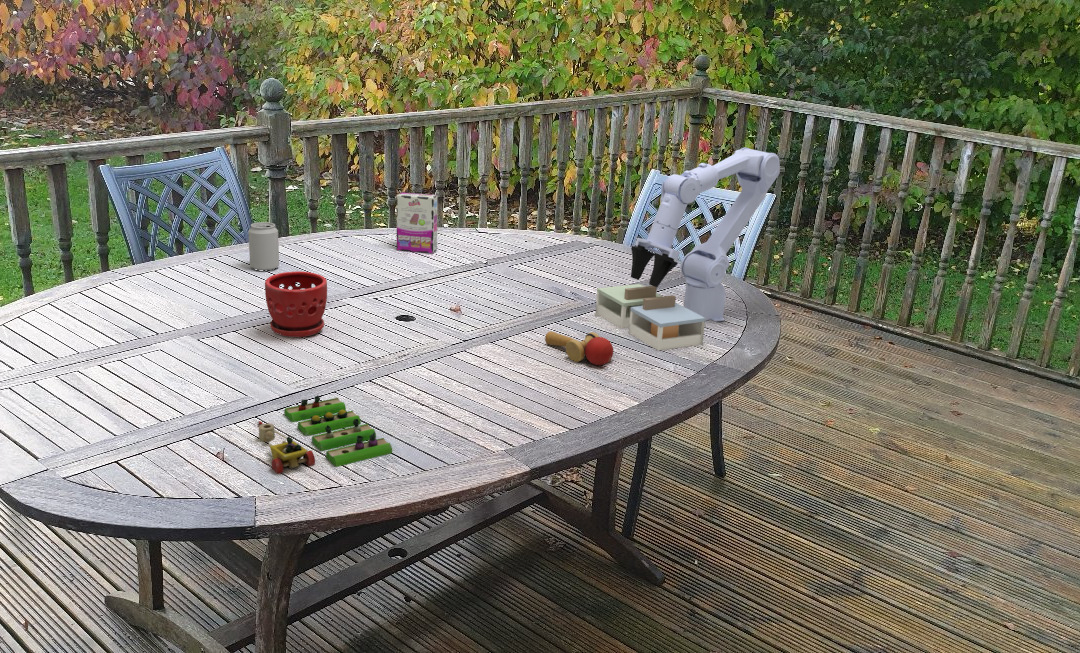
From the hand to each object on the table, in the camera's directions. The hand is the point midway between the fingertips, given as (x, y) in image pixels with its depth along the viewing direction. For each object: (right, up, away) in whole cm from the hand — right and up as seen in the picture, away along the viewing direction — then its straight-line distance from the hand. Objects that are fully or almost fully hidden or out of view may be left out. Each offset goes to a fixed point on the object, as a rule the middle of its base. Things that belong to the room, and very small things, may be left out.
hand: (643, 282), depth 222 cm
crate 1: (-2, -9, +10) cm, 14 cm away
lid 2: (+5, -8, -4) cm, 10 cm away
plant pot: (-77, -11, -8) cm, 78 cm away
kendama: (-16, -17, -13) cm, 26 cm away
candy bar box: (-60, +12, +61) cm, 86 cm away
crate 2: (+5, -14, -2) cm, 14 cm away
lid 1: (-2, -3, +8) cm, 9 cm away
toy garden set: (-63, -30, -57) cm, 90 cm away
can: (-97, +5, +36) cm, 103 cm away
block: (+4, -13, -4) cm, 15 cm away
